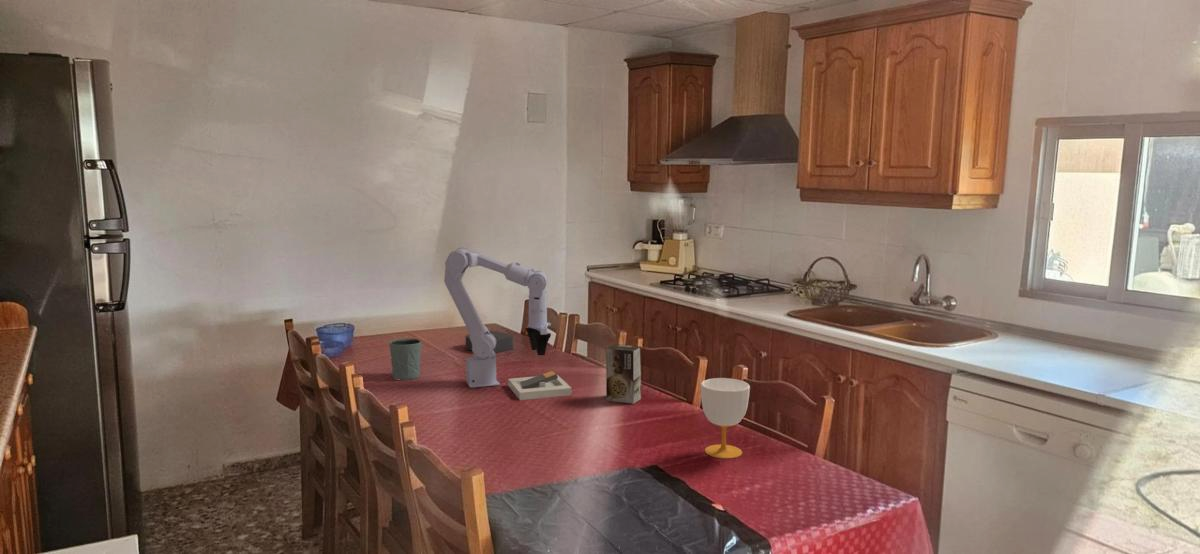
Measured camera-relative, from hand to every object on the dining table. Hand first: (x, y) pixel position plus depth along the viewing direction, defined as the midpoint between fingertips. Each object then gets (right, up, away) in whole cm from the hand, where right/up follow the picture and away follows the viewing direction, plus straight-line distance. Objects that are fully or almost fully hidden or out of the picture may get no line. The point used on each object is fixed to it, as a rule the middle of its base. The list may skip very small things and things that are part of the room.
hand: (538, 352), depth 248 cm
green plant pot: (-44, -9, +10) cm, 46 cm away
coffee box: (+27, -13, -15) cm, 33 cm away
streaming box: (-22, -4, +49) cm, 54 cm away
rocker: (+1, -9, -6) cm, 11 cm away
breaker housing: (+1, -11, -6) cm, 13 cm away
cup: (+50, -19, -57) cm, 78 cm away
